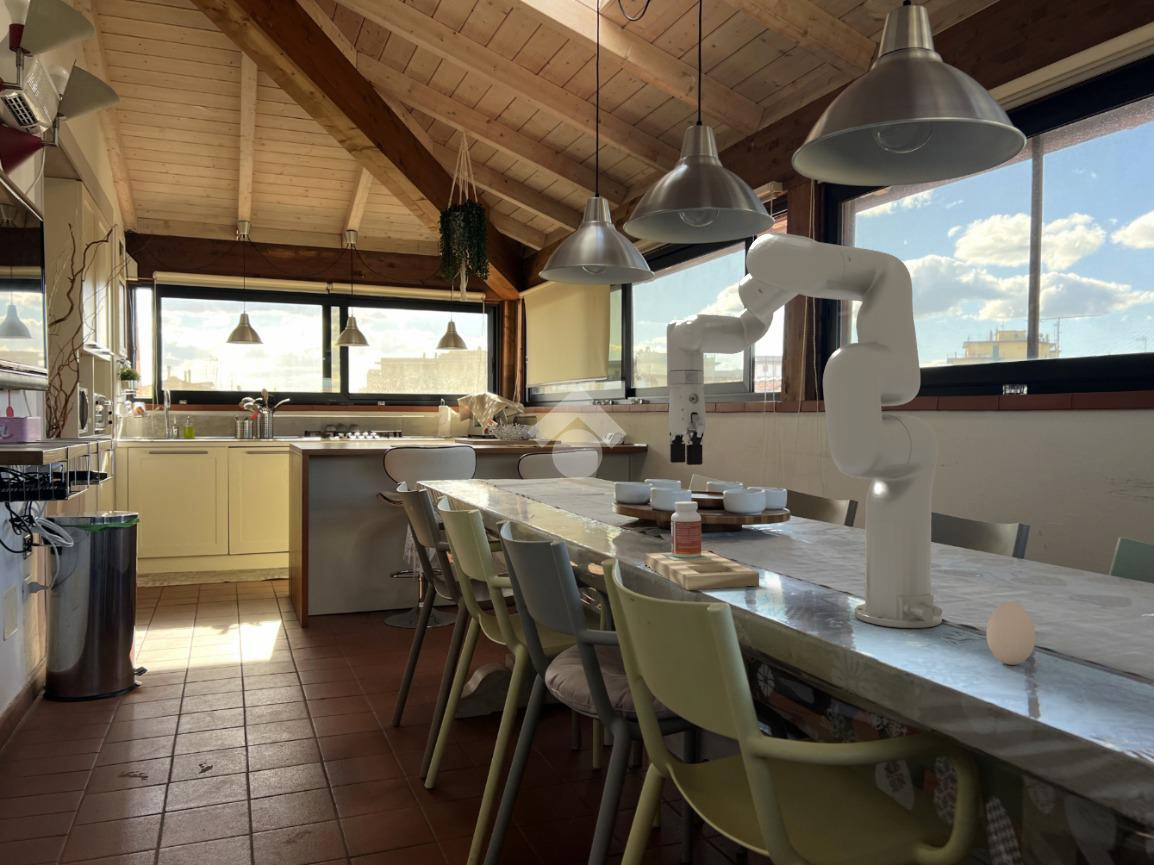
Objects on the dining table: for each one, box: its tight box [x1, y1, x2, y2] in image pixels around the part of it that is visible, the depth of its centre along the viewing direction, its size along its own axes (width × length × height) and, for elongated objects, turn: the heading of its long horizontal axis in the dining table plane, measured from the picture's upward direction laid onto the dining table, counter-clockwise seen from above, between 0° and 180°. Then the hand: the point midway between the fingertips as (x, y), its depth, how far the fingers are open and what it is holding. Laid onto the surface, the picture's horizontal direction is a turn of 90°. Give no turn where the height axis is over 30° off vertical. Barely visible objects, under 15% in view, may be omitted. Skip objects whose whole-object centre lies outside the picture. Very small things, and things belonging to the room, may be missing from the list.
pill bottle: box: [670, 500, 702, 558], centre depth 172 cm, size 6×6×11 cm
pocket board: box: [643, 550, 760, 591], centre depth 165 cm, size 26×14×3 cm, turn 13°
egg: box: [986, 601, 1036, 666], centre depth 106 cm, size 6×6×8 cm
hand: (686, 463), depth 172 cm, fingers open, 9 cm apart
